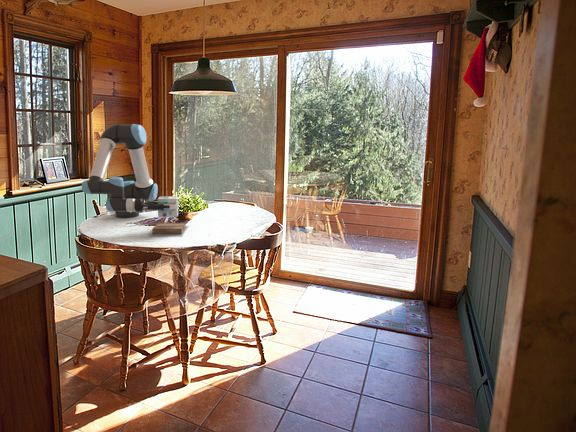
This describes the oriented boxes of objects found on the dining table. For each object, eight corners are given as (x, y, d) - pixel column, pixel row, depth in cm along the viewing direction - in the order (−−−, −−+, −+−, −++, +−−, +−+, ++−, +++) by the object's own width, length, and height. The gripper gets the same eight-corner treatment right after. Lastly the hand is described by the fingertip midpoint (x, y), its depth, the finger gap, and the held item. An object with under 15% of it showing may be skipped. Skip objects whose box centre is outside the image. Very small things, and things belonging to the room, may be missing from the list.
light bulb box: (157, 217, 229) (156, 198, 227) (159, 214, 236) (158, 196, 233) (177, 217, 231) (176, 198, 229) (178, 214, 238) (177, 196, 235)
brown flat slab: (158, 227, 247) (158, 226, 246) (188, 227, 248) (188, 226, 248) (148, 238, 223) (148, 236, 223) (181, 238, 225) (181, 236, 225)
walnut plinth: (158, 228, 242) (157, 223, 241) (185, 228, 243) (185, 223, 242) (152, 234, 228) (152, 229, 227) (181, 234, 229) (181, 229, 229)
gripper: (140, 208, 241) (180, 208, 243) (130, 215, 222) (174, 215, 224) (140, 195, 240) (179, 196, 241) (130, 201, 220) (173, 202, 222)
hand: (177, 205), depth 232 cm, fingers closed on light bulb box, 7 cm apart
